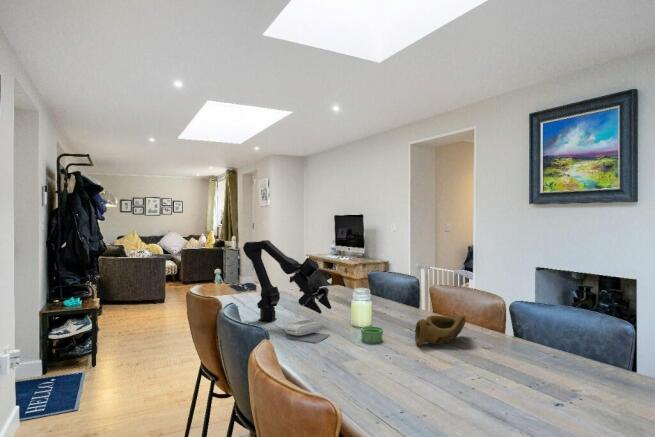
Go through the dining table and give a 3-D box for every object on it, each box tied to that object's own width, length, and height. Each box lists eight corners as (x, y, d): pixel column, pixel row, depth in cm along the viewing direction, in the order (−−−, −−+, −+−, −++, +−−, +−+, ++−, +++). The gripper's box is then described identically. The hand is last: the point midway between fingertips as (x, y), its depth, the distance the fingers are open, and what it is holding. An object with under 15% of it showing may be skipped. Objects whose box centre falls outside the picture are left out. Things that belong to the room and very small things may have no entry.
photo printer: (306, 328, 173) (282, 334, 165) (305, 318, 173) (282, 324, 165) (321, 331, 165) (297, 337, 157) (320, 321, 165) (296, 326, 157)
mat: (286, 338, 159) (286, 337, 159) (301, 331, 170) (301, 330, 170) (316, 343, 153) (316, 342, 153) (330, 335, 163) (330, 334, 163)
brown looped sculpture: (484, 331, 144) (424, 321, 144) (474, 361, 148) (416, 350, 148) (470, 305, 162) (416, 296, 162) (461, 332, 166) (409, 323, 166)
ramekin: (357, 341, 156) (357, 330, 156) (365, 335, 164) (365, 324, 164) (378, 344, 152) (378, 333, 152) (386, 338, 160) (386, 327, 160)
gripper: (304, 274, 167) (327, 303, 162) (325, 269, 183) (346, 295, 178) (288, 291, 170) (311, 320, 165) (310, 285, 187) (331, 311, 182)
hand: (326, 310), depth 172 cm, fingers open, 9 cm apart
